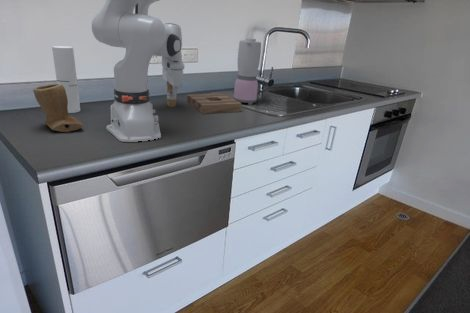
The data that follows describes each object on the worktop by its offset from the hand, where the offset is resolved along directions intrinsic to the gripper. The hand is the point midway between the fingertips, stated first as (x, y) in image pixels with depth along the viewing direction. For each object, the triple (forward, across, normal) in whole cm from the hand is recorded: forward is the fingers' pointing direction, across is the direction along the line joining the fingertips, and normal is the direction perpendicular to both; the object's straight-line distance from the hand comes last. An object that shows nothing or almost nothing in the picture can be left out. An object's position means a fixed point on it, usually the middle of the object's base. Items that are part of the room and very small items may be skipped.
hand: (171, 92), depth 148 cm
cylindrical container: (+6, +1, -43) cm, 43 cm away
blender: (+6, -2, +41) cm, 42 cm away
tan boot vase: (+6, +22, -47) cm, 52 cm away
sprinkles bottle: (+6, 0, 0) cm, 6 cm away
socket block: (+6, +6, +19) cm, 21 cm away
